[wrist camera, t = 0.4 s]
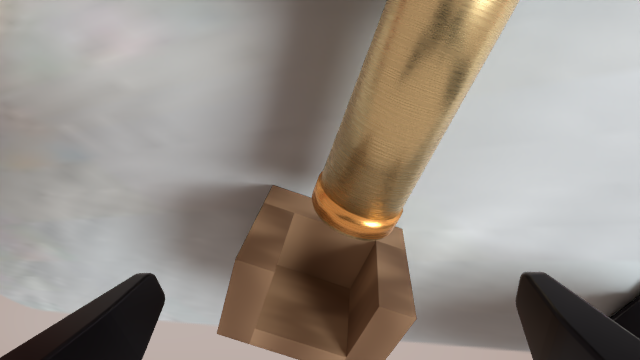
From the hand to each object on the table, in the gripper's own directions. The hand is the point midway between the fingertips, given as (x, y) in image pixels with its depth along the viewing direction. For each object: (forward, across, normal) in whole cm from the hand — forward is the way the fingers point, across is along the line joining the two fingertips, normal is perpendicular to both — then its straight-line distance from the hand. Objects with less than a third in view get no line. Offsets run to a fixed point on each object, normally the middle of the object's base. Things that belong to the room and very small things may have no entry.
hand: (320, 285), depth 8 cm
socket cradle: (+12, +2, +8) cm, 15 cm away
